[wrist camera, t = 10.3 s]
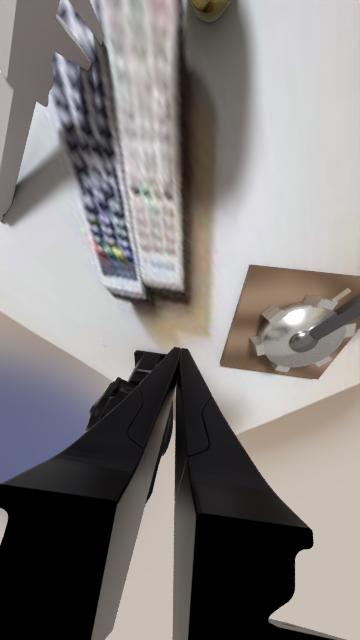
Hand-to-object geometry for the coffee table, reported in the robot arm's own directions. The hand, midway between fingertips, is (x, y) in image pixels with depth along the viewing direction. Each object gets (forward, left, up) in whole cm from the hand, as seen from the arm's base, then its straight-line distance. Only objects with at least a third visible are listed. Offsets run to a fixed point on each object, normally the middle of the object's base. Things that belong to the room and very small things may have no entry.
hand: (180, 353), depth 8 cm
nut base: (-3, -15, -12) cm, 19 cm away
